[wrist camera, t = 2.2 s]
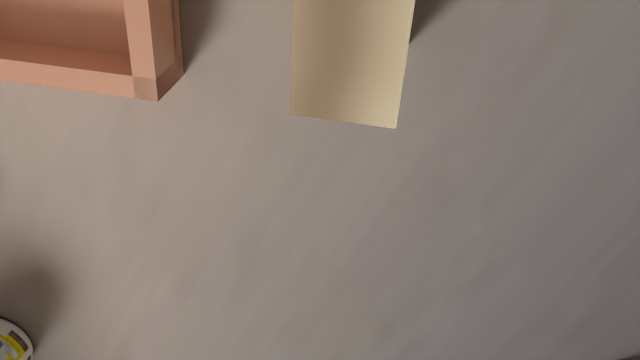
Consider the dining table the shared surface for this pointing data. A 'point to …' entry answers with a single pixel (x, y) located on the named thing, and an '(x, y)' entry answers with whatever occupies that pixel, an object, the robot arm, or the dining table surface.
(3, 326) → the supplement bottle
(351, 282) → the dining table surface
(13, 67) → the tray
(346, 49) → the beige tall rectangular block
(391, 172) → the dining table surface
